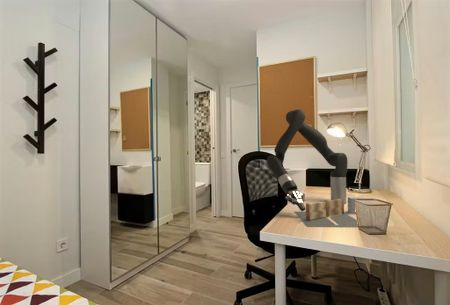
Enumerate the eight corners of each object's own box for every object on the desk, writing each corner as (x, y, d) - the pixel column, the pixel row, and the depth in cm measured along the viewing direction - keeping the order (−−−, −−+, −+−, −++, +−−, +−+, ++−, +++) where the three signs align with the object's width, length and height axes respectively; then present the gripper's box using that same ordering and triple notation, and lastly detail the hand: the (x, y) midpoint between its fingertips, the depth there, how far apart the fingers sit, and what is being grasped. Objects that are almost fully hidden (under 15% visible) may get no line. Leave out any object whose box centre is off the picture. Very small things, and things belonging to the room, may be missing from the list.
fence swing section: (323, 215, 116) (323, 200, 116) (326, 216, 115) (326, 201, 115) (305, 219, 111) (305, 203, 111) (308, 220, 109) (307, 204, 109)
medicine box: (362, 212, 124) (362, 197, 124) (366, 214, 120) (366, 198, 120) (347, 212, 125) (347, 197, 125) (351, 214, 121) (350, 198, 121)
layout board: (294, 212, 127) (294, 211, 127) (342, 212, 125) (342, 211, 125) (307, 227, 101) (307, 226, 101) (369, 228, 99) (369, 227, 99)
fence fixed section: (327, 217, 115) (326, 200, 115) (323, 216, 117) (323, 200, 117) (344, 213, 121) (344, 198, 121) (341, 213, 123) (341, 197, 123)
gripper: (281, 180, 121) (297, 207, 110) (299, 178, 127) (317, 204, 116) (275, 188, 126) (290, 215, 115) (293, 186, 132) (309, 212, 121)
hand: (303, 210), depth 116 cm, fingers closed
